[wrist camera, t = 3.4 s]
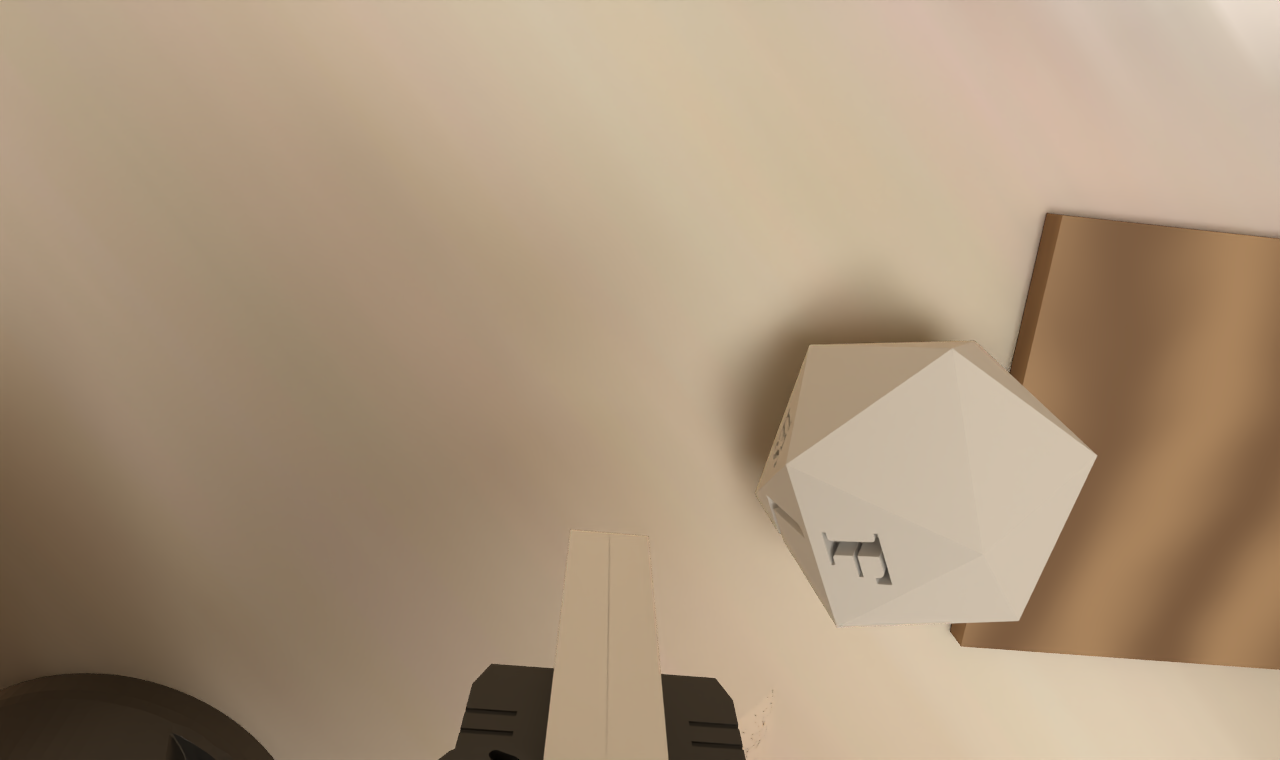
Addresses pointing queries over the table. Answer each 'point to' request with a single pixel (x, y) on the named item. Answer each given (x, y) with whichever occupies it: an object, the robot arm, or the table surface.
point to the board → (1157, 444)
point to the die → (919, 483)
